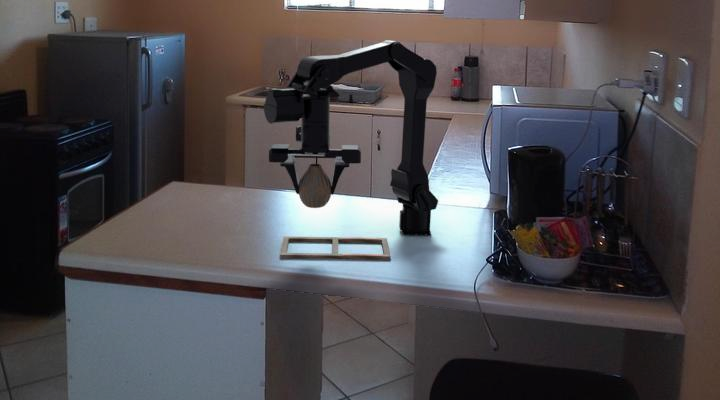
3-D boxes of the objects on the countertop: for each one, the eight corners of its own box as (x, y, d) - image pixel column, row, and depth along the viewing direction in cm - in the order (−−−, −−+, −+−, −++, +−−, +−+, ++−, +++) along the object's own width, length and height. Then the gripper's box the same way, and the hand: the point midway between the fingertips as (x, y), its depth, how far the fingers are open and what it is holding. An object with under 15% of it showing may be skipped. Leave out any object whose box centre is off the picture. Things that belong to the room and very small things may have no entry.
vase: (314, 199, 165) (314, 159, 163) (338, 205, 161) (338, 164, 159) (291, 205, 160) (291, 164, 158) (315, 212, 156) (316, 170, 154)
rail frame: (386, 241, 170) (386, 237, 169) (390, 260, 158) (390, 255, 158) (283, 239, 169) (283, 235, 168) (279, 258, 157) (279, 254, 157)
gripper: (360, 114, 164) (358, 184, 168) (272, 112, 163) (273, 183, 167) (361, 123, 153) (360, 198, 157) (268, 121, 153) (269, 197, 157)
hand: (315, 193), depth 160 cm, fingers closed on vase, 7 cm apart
